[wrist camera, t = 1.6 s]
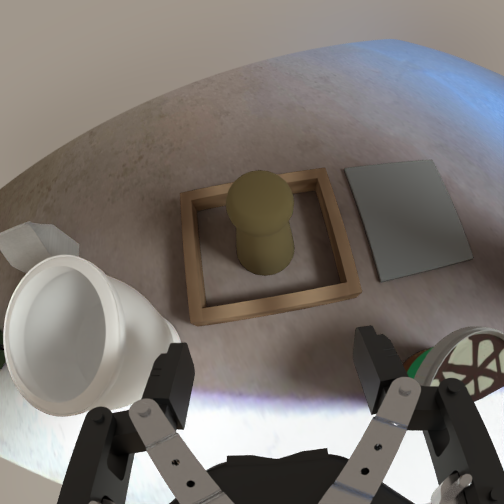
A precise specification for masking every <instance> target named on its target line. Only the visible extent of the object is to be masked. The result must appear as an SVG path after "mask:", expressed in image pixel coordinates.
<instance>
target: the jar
mask: <svg viewBox="0 0 504 504" xmlns="http://www.w3.org/2000/svg"><path fill="white" fill-rule="evenodd" d="M170 343H181V341H180V338H179V335H178V333H177V331H176V330H175V328H174V327H173V326H172V324H171V323H170V322H169V321H168V320H166V319H165V318H164V317H162V316H161V314H160V313H159V312H158V311H157V310H156V309H155V308H154V306H153V305H152V304H151V303H150V302H149V301H148V300H147V299H146V298H145V297H144V296H143V295H142V294H140V293H139V292H138V291H137V290H135V289H134V288H132V287H131V286H129V285H127V284H126V283H124V282H122V281H120V280H118V279H115V278H113V277H110V276H107V275H106V274H105V273H104V272H103V271H102V270H101V269H100V268H98V267H97V266H96V265H95V264H93V263H91V262H90V261H87V260H85V259H83V258H80V257H78V256H74V255H57V256H53V257H50V258H47V259H45V260H43V261H41V262H40V263H38V264H37V265H35V266H34V267H33V268H32V269H31V270H30V271H29V272H28V273H27V274H26V275H25V276H24V277H23V278H22V280H21V281H20V283H19V284H18V286H17V287H16V289H15V291H14V293H13V295H12V297H11V300H10V302H9V305H8V308H7V312H6V316H5V322H4V332H3V344H4V353H5V359H6V363H7V367H8V370H9V373H10V375H11V378H12V380H13V382H14V384H15V385H16V387H17V389H18V390H19V392H20V393H21V394H22V396H23V397H24V398H25V399H26V400H27V401H28V402H29V403H30V404H31V405H32V406H34V407H35V408H37V409H38V410H40V411H42V412H44V413H46V414H49V415H53V416H62V417H63V416H72V415H78V414H81V413H84V412H86V411H90V410H92V409H93V408H95V407H100V406H102V407H106V408H108V409H109V410H114V409H119V408H122V407H125V406H128V405H131V404H133V403H135V402H136V401H138V400H140V399H141V398H142V395H143V392H144V390H145V387H146V384H147V381H148V378H149V376H150V372H151V370H152V367H153V364H154V361H155V360H156V359H157V357H158V356H159V355H160V354H161V353H167V351H168V348H169V345H170Z"/></svg>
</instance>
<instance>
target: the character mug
mask: <svg viewBox="0 0 504 504" xmlns="http://www.w3.org/2000/svg"><path fill="white" fill-rule="evenodd" d="M1 344H3V333H2V332H1V331H0V369H1V368H2V367H3V365H4V363H5V360H6V359H5V353H4V351H3V350H1ZM3 345H4V344H3Z"/></svg>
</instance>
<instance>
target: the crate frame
mask: <svg viewBox="0 0 504 504" xmlns="http://www.w3.org/2000/svg"><path fill="white" fill-rule="evenodd" d="M278 176H280V177H281V178H282V179H284V180H285V181H286V182H287V184H288V186H289V187H290V189H291V191H292V194H295V193H301V192H307V191H314V190H315V191H316V194H317V197H318V201H319V204H320V207H321V211H322V214H323V218H324V221H325V225H326V228H327V232H328V236H329V239H330V243H331V247H332V251H333V254H334V258H335V262H336V266H337V270H338V274H339V278H340V282H341V284H336V285H331V286H326V287H321V288H316V289H311V290H306V291H301V292H295V293H290V294H285V295H279V296H274V297H268V298H262V299H257V300H251V301H245V302H239V303H233V304H227V305H221V306H214V307H208V308H207V305H206V297H205V288H204V280H203V271H202V261H201V252H200V241H199V231H198V220H197V211H200V210H206V209H211V208H216V207H221V206H226V198H227V194H228V190H229V188H230V187H231V185H232V184H233V182H232V183H227V184H222V185H217V186H212V187H207V188H202V189H197V190H192V191H187V192H183V193H180V205H181V222H182V237H183V251H184V263H185V274H186V285H187V295H188V305H189V314H190V323H191V324H193V325H195V326H197V327H198V326H205V325H212V324H218V323H225V322H231V321H238V320H244V319H250V318H256V317H262V316H267V315H273V314H279V313H284V312H289V311H295V310H300V309H305V308H310V307H315V306H320V305H325V304H330V303H334V302H339V301H344V300H348V299H353V298H356V297H357V296H358V295H359V294H361V293H362V289H361V285H360V281H359V277H358V273H357V270H356V266H355V262H354V258H353V255H352V251H351V248H350V244H349V241H348V237H347V234H346V231H345V227H344V224H343V221H342V217H341V214H340V211H339V208H338V205H337V201H336V198H335V195H334V192H333V189H332V186H331V183H330V180H329V177H328V174H327V172H326V169H325V168H318V169H311V170H304V171H298V172H291V173H284V174H278Z"/></svg>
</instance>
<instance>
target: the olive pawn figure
mask: <svg viewBox="0 0 504 504" xmlns="http://www.w3.org/2000/svg"><path fill="white" fill-rule="evenodd" d="M293 206H294V198H293V194H292V191H291V189H290V187H289V186H288V184H287V182H286V181H285V180H284V179H282V178H281V177H280V176H278V175H276V174H274V173H271V172H269V171H261V170H258V171H251V172H248V173H246V174H244V175H242V176H241V177H239V178H238V179H237V180H236V181H235V182H233V184H232V185H231V187H230V188H229V190H228V194H227V198H226V209H227V213H228V216H229V218H230V220H231V222H232V223H233V224H234V225H235V226H236V249H237V256H238V258H239V261H240V263H241V264H242V265H243V266H244V267H245V268H246V269H247V270H248V271H250V272H252V273H254V274H257V275H264V276H266V275H273V274H276V273H278V272H280V271H282V270H283V269H284V268H285V267H286V266H288V265H289V263H290V261H291V259H292V258H293V255H294V248H295V247H294V242H293V237H292V233H291V229H290V225H289V219H290V218H291V216H292V213H293Z"/></svg>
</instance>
